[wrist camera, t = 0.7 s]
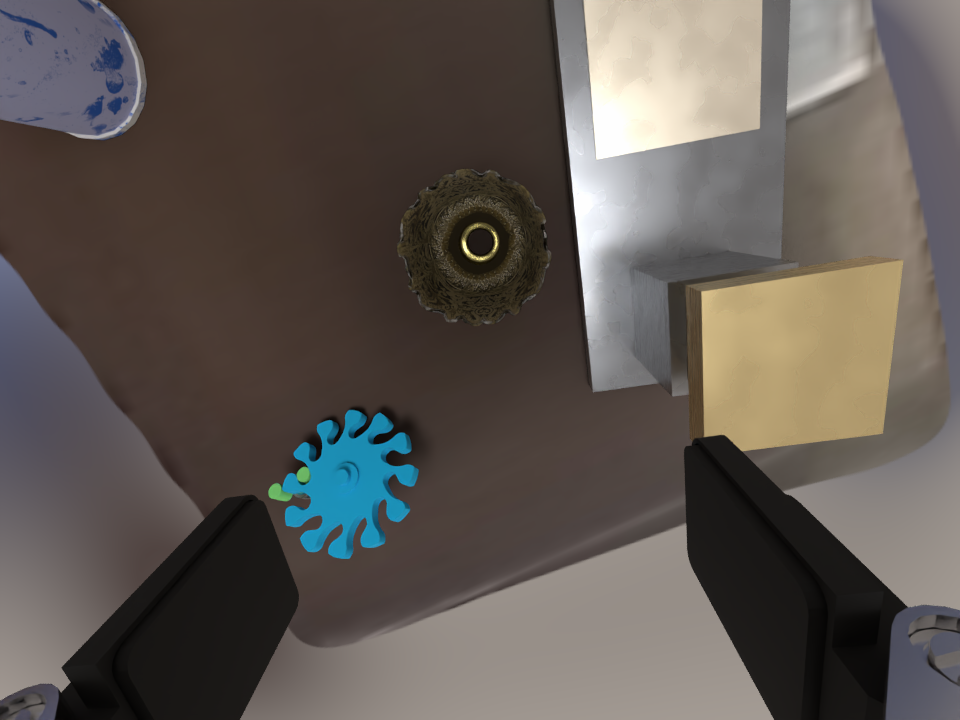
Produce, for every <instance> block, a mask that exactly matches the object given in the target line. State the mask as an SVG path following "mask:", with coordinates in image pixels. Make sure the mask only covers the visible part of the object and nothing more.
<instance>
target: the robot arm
mask: <svg viewBox="0 0 960 720" xmlns="http://www.w3.org/2000/svg"><path fill="white" fill-rule="evenodd" d="M684 464H685V494H686V524H687V550H688V557H689V561H690V564H691V566H692V569H693V571H694V573H695V574H696V576H697V578H698V580H699V582H700V584H701V586H702V587H703V589H704V591H705V593H706V595H707V597H708V598H709V600H710V602H711V604H712V606H713V608H714V610H715V611H716V613H717V615H718V617H719V619H720V621H721V622H722V624H723V626H724V628H725V630H726V632H727V634H728V635H729V637H730V639H731V640H732V643H733V644H734V646H735V648H736V650H737V652H738V654H739V656H740V657H741V659H742V661H743V663H744V665H745V666H746V669H747V670H748V672H749V674H750V676H751V678H752V680H753V682H754V683H755V685H756V687H757V689H758V691H759V693H760V694H761V696H762V698H763V700H764V702H765V704H766V705H767V707H768V709H769V711H770V713H771V715H772V716H773V718H774V720H960V610H957V609H953V608H948V607H945V606H932V605H920V606H914V607H907V606H906V605H905V604H904V603H903V602H902V601H901V600H900V599H899V598H898V597H897V596H896V595H895V594H894V593H893V592H892V591H891V590H890V589H888V587H887V586H885V585H884V584H883V583H882V582H881V581H880V580H879V579H878V578H877V577H876V576H875V575H874V574H873V573H872V572H871V571H870V570H869V569H868V568H867V567H866V566H865V565H864V564H863V563H861V561H860V560H859V559H858V558H856V557H855V556H854V555H853V554H852V553H851V552H850V551H849V550H848V549H847V548H846V547H845V546H844V545H843V544H842V543H841V542H840V541H839V540H838V539H837V538H836V537H835V536H834V535H833V534H832V533H831V532H830V531H828V530H827V529H826V528H825V527H824V526H823V525H822V524H821V523H820V522H819V521H818V520H817V519H816V518H815V517H814V516H813V515H812V514H811V513H810V512H809V511H808V510H807V509H806V508H805V507H803V505H802V504H801V503H799V502H798V501H797V500H796V499H795V498H793V497H792V496H789V495H786V494H785V493H783V492H782V491H781V490H780V489H779V488H778V487H777V486H776V485H775V484H774V483H773V482H772V481H771V480H770V479H769V478H768V477H767V476H766V475H765V474H764V473H763V472H762V471H761V470H760V469H759V468H758V467H757V466H756V465H755V464H754V463H753V462H752V461H751V460H750V459H749V458H748V457H747V456H746V455H745V454H744V453H743V452H742V451H741V450H740V449H739V448H738V447H737V446H736V445H735V444H734V443H733V442H732V441H731V440H730V439H729V438H728V437H726V436H725V435H716V436H708V437H700V438H695V439H694V440H693V442H692V446H686V447H685V450H684ZM298 601H299V594H298V590H297V587H296V584H295V582H294V579H293V576H292V574H291V571H290V569H289V566H288V563H287V561H286V558H285V555H284V553H283V550H282V547H281V545H280V542H279V539H278V537H277V534H276V532H275V529H274V526H273V524H272V521H271V518H270V516H269V513H268V510H267V508H266V505H265V504H264V502H263V501H261V500H258V498H257V497H255V496H254V495H245V496H237V497H230V498H225V499H224V500H223V501H222V502H221V503H220V504H219V505H218V506H217V507H216V508H215V509H214V510H213V511H212V512H211V513H210V514H209V515H208V516H207V517H206V518H205V519H204V520H203V521H202V522H201V523H200V524H199V525H198V526H197V527H196V529H195V530H194V531H193V532H192V533H191V534H190V535H189V536H188V537H187V538H186V539H185V540H184V541H183V542H182V543H181V544H180V545H179V546H178V547H177V548H176V549H175V550H174V551H173V553H171V554H170V556H169V557H168V558H167V559H166V560H165V561H164V562H163V563H162V564H161V565H160V566H159V567H158V568H157V569H156V570H155V571H154V572H153V573H152V574H151V575H150V576H149V577H148V578H147V579H146V580H145V581H144V583H142V585H141V586H140V587H139V588H138V589H137V590H136V591H135V592H134V593H133V594H132V595H131V596H130V597H129V598H128V599H127V600H126V601H125V602H124V603H123V604H122V605H121V607H119V608H118V609H117V610H116V611H115V613H114V614H113V615H112V616H111V617H110V618H109V619H108V620H107V621H106V622H105V623H104V624H103V625H102V626H101V627H100V628H99V629H98V630H97V631H96V632H95V633H94V634H93V635H92V636H91V637H90V638H89V640H88V641H87V642H86V643H85V644H84V645H83V646H82V647H81V648H80V649H79V650H78V651H77V652H76V653H75V654H74V655H73V656H72V657H71V658H70V660H68V661H67V662H66V663H65V664H64V665H63V667H62V669H63V671H64V672H65V674H66V676H67V677H68V679H69V680H70V682H71V683H70V684H69V685H68V686H67V687H66V688H65V689H64V690H63V691H62V693H61V692H60V691H59V689H58V688H57V687H56V686H54V685H53V684H38V685H34V686H31V687H27V688H24V689H22V690H20V691H18V692H16V693H14V694H11V695H9V696H7V697H5V698H4V699H2V700H0V720H240V718H241V716H242V714H243V712H244V711H245V708H246V706H247V705H248V703H249V701H250V699H251V697H252V695H253V693H254V691H255V689H256V687H257V685H258V683H259V681H260V679H261V677H262V675H263V673H264V672H265V670H266V668H267V666H268V664H269V662H270V660H271V658H272V656H273V654H274V652H275V650H276V648H277V646H278V644H279V642H280V640H281V638H282V636H283V635H284V633H285V631H286V628H287V627H288V625H289V623H290V621H291V619H292V617H293V615H294V613H295V611H296V609H297V606H298Z"/></svg>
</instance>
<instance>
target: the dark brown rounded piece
mask: <svg viewBox="0 0 960 720" xmlns="http://www.w3.org/2000/svg"><path fill="white" fill-rule="evenodd" d="M545 222H546V219H545V216H544V214H543V212H542V210H541V209H540V208H539V207H538V206H537V205H536V203H535V201H534V199H533V197H532V196H531V194H530V193H529V192H528V190H527V189H526V188H525V187H523V186H522V185H521V184H519V183H517V182H515V181H513V180H511V179H506V178H503V177H501V176H500V175H499V173H497V172H496V171H493V170H487V171H485V172H484V173H480V172H478V171H476V170H473V169H460V170H457V171H455V173H450V174H446V175H443V176H442V177H441V178H440V179H439V180H438V181H436V182H435V183H434V186H432V187H426V188H425V189H423V190H421V191H420V192H419V193H418V199H417V201H416V202H415V203H414V204H413V205H412V206H410V207H409V208H408V210H407V211H406V213H405V214H404V216H403V218H402V220H401V223H400V241H399V242H398V245H397V253H398V255H399V257H403V258H404V260H405V270H406V272H407V273H408V275H409V284H408V287H409V289H410V290H411V291H412V292H414V293H416V294H417V297H418V300H419V303H420V305H421V306H422V307H423V308H424V309H426V310H427V311H430V312H437V313H441V314H443V315H444V318H445V319H446V321H447V322H456V321H457V320H460V319H462V320H463V321H464V322H465V323H468V324H470V325H472V326H479V325H480V324H484V323H485V324H495V323H497V322H499V321H500V320H501V319H502V318H503V317H504V316H505V314H506V313H510V314H512V315H516V314H517V313H518V312H519V311H520V310H521V306H522V305H523V303H525V302H526V301H528V300H531V299H532V298H533V297H535V296H536V295H537V294H538V293H539V291H540V290H541V287H542V285H543V282H544V277H545V272H546V269H547V268H548V267H549V264H550V262H551V252H550V251H549V250H548V248H547V234H546V231H545V227H544V224H545ZM477 229H483V230H486V231H488V232H489V233H490V234H491V236H492V239H493V245H492V248H491V250H490V251H489V252H488V253H486V254H484V255H477V254H475V253H473V252H472V251H471V250H470V249H469V246H468V238H469V235H470V234H471V233H472V232H473V231H475V230H477Z"/></svg>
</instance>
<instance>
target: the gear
mask: <svg viewBox="0 0 960 720" xmlns="http://www.w3.org/2000/svg"><path fill="white" fill-rule="evenodd" d="M366 420H367V416H365V415H364V414H362V413H361V412H359V411H355V410H349V411H348V412H347V413H346V416H345V429H344V431H343V434H342V436H341V437H340V439H339V440H338V442H337V443H336V444H334V445H333V440H334V438H335V436H336V435H337V433H338V430H339V426H338V424H337V423H335V422H334V421H332V420H328V421H324V422H322V423H320V424H318V426H317V432H318V434H319V435H320V437H321V440H322V453H321V457H320V458H319V459H318V460H317V461H316V460H315V457H316V448H315V446H313V445H311V444H309V443H306V442H304V443H303V444H301V445H300V446H299V447H298V448H297V449H296V451H295V452H294V457H295V458H296V459H298V460H301V461H303V462H304V463H305V464H306V465H307V466H308V468H307V467H302V468H301V469H300V470H299V471H298V473H297V475H296V474H292V473H290V474H288V475H287V477H286V479H285V481H284V484H283V485H281V484H273V485H272V486H271V487H270V489H269V497H270V498H272V499H277V500H281V501H288V500H289V499H291V497H292V495H293V494H294V495H295V496H296V497H298V498H302V499H311V504H310V506H309V507H308V508H307V509H306V510H305V509H304V508H302V507H297V506H290V507H288V508H287V509H286V512H285V520H286V525H287V526H292V527H299V526H301V525H302V524H303V523H304V522H305V521H307V520H308V519H310V518H311V517H314V516H319V515H321V516H322V519H323V522H322V525H321V527H320V528H319V529H317V530H309V531H306V532H305V533H303V535H302V536H301V538H300V540H301V543H302V545H303V546H304V548H305V549H306V550H307V551H308V552H317V551H319V550H320V549H321V548H322V546H323V544H324V541H325V539H326V537H327V536H328V534H329V533H330V532H331V531H332V530H333V529H334V528H336V527H337V526H339V525H340V524H342V525H343V533H342V535H341V536H340V537H339V538H337V539H336V540H334V541H333V542H332V543H331V544H330V546H329V550H328V553H329V554H330V555H331V556H333V557H336V558H342V559H349V558H350V557H351V555H352V553H353V537H354V533H355V531H356V529H357V527H358V525H359V523H360V521H361V520H362V519H363V518H366V520H367V526H366V529H365V530H364V532H363V534H362V536H361V544H362V546H363V547H368V548H373V547H377V546H380V545H382V544H384V543H385V534H384V532H383V531H382V529H381V527H380V525H379V522H378V507H379V504H380V502H381V501H382V500H384V499H386V501H387V516H388V518H389V519H390V520H392V521H396V522H399V521H401V520H402V519H403V518H404V517H405V516H406V515H407V514H408V512H409V511H410V507H409V505H408V504H407V503H406V502H403V501H400V500H399V499H397V498H396V497H395V496H394V495H393V494H392V492H391V490H390V488H389V485H388V480H389V478H390V477H391V476H392V475H394V474H396V476H397V478H398V480H399V482H400V483H402V484H404V485H406V486H409V487H411V486H414V484H415V483H416V480H417V477H418V472H419V470H418V469H417V468H415V467H414V466H412V465H409V464H407V465H403V466H391V465H389V464H388V463H387V461H386V456H387V454H388V453H389V452H390V451H392V450H395V451H398V452H399V453H401V454H407V453H409V452H410V451H411V441H410V438H409V436H408V435H407V434H405V433H398V434H396V435H395V436H394V437H393V438H392V439H391V440H389V441H387V442H385V443H383V444H376V445H374V444H373V440H374V438H375V436H376V435H378V434H382V433H388V432H389V431H391V430H392V428H393V423H392V422H391V421H390V420H389V419H388V418H387V417H386V416H384V415H383V414H381V413H378V414H377V415H375V417H374V418H373V421H372V423H371V425H370V426H369V428H368V429H367V430H366V431H365V432H364V433H363V434H362V435H360V436H359V437H357V438H355V439H354V434H355V432H356V430H357V429H359V428H360V427H362V426H363V425H364V424H365V422H366Z"/></svg>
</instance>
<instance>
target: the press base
mask: <svg viewBox="0 0 960 720" xmlns="http://www.w3.org/2000/svg"><path fill="white" fill-rule="evenodd" d="M549 2H550V12H551V21H552V31H553V41H554V50H555V60H556V70H557V80H558V89H559V99H560V109H561V118H562V128H563V138H564V147H565V157H566V167H567V177H568V186H569V196H570V206H571V215H572V225H573V235H574V244H575V254H576V264H577V274H578V283H579V293H580V303H581V312H582V322H583V332H584V341H585V351H586V361H587V371H588V380H589V385H590V387H591V389H592V391H593V392H598V391H605V390H613V389H620V388H627V387H634V386H641V385H648V384H655V383H660V384H661V385H662V386H663V387H664V388H665V389H666V390H667V392H668V393H669V394H670V395H671V396H672V397H673V396H680V395H688V394H689V388H688V366H687V344H686V311H685V297H686V285H692V284H698V283H704V282H711V281H717V280H723V279H730V278H736V277H742V276H748V275H755V274H761V273H767V272H774V271H780V270H786V269H792V268H798V262H795V261H789V260H783V259H781V246H782V218H783V190H784V163H785V135H786V107H787V79H788V51H789V23H790V0H549Z"/></svg>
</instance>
